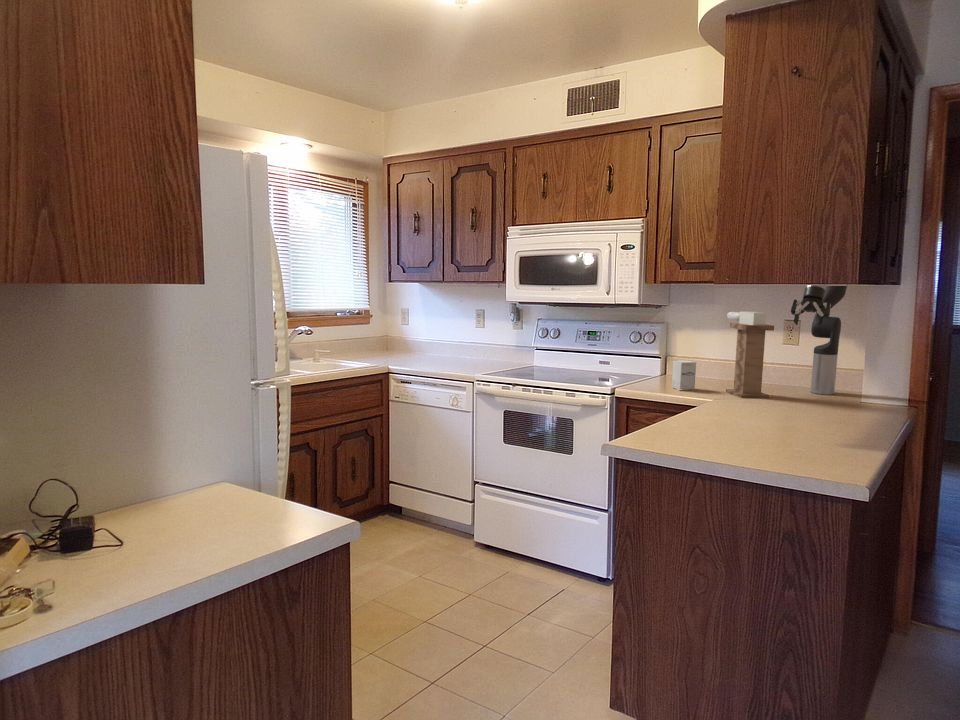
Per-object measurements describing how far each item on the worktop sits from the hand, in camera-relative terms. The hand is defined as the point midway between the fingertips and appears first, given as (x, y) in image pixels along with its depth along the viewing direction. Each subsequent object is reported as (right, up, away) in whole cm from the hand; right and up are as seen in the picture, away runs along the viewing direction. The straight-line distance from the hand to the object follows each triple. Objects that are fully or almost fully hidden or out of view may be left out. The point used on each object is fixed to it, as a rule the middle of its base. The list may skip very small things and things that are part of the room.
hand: (807, 325), depth 266 cm
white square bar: (-21, +1, +12) cm, 24 cm away
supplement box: (-44, -28, +21) cm, 56 cm away
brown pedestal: (-21, -29, +9) cm, 37 cm away
